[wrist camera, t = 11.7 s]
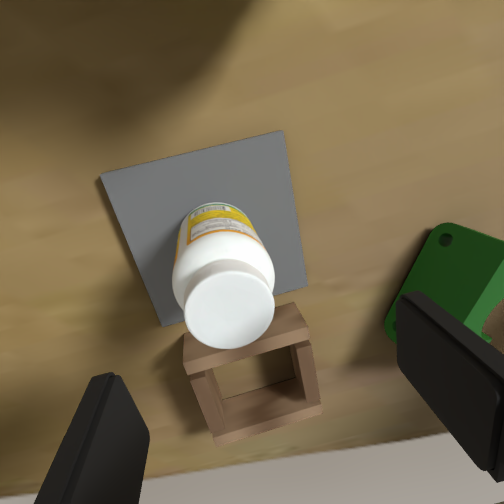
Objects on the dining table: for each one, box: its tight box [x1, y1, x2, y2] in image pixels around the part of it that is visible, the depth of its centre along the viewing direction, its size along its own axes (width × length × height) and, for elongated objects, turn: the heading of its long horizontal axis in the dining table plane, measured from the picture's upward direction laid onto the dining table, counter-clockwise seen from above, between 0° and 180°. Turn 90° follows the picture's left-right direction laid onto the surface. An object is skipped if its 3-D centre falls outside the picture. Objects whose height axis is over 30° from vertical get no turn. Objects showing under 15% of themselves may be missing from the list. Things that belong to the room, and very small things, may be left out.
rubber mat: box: [100, 130, 308, 327], centre depth 22 cm, size 12×12×1 cm
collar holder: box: [183, 302, 323, 447], centre depth 26 cm, size 10×10×4 cm
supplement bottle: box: [172, 202, 275, 349], centre depth 18 cm, size 5×5×10 cm
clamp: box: [384, 223, 504, 344], centre depth 26 cm, size 12×6×9 cm, turn 157°
